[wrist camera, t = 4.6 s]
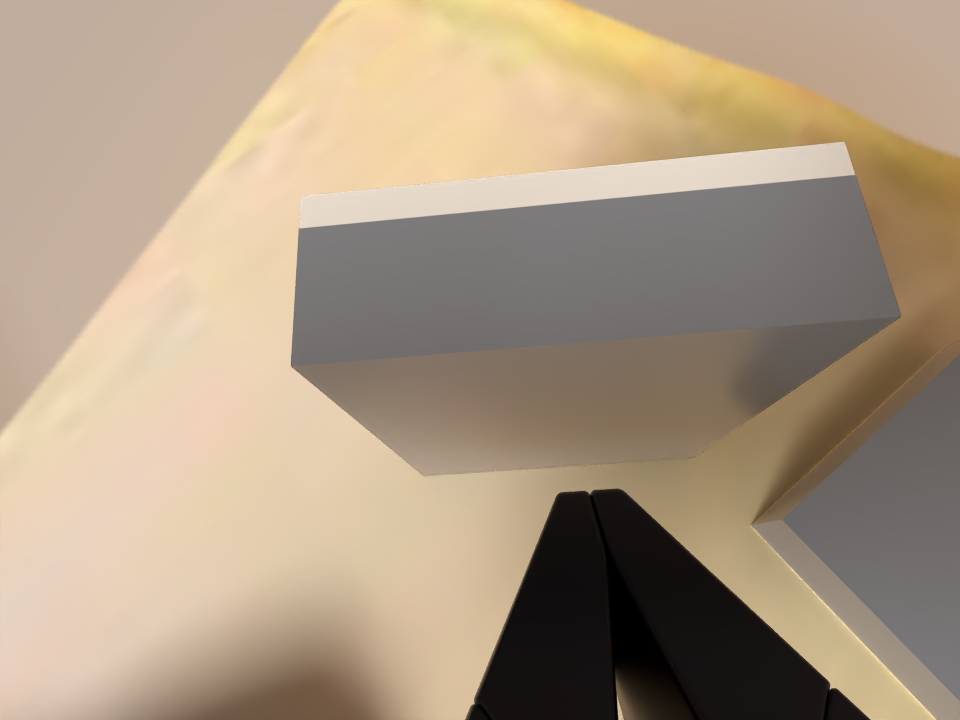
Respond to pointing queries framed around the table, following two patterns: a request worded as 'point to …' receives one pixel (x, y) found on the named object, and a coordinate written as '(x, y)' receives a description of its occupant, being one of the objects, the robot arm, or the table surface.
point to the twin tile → (889, 533)
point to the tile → (585, 305)
